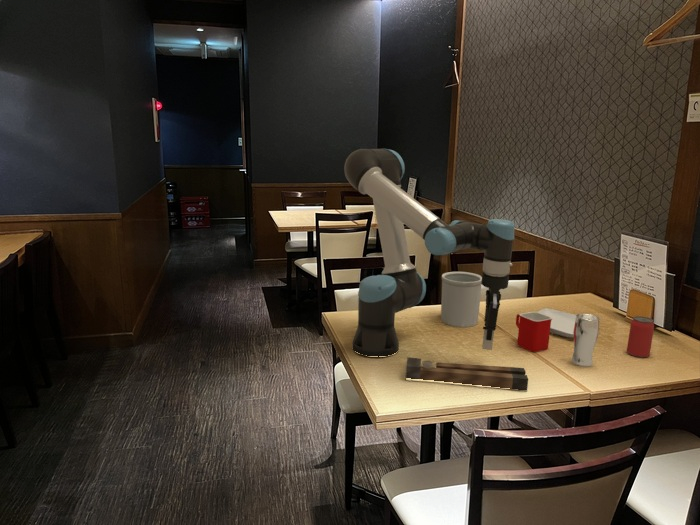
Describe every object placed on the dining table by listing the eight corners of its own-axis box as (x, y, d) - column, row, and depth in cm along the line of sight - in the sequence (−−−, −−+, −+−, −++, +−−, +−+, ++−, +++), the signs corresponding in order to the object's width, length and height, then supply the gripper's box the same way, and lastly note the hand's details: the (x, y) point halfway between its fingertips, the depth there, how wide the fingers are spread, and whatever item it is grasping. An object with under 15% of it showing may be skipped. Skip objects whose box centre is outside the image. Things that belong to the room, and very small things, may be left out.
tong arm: (436, 377, 147) (436, 365, 146) (435, 373, 149) (436, 362, 149) (524, 383, 144) (525, 371, 143) (522, 379, 147) (523, 367, 146)
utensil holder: (471, 330, 184) (475, 283, 180) (433, 322, 192) (435, 277, 188) (484, 319, 197) (488, 275, 193) (447, 312, 204) (450, 269, 200)
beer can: (637, 359, 162) (643, 323, 160) (621, 351, 169) (626, 316, 166) (654, 357, 164) (660, 321, 161) (638, 349, 170) (643, 314, 168)
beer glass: (587, 358, 162) (593, 313, 159) (598, 367, 156) (604, 320, 152) (565, 358, 162) (571, 313, 159) (575, 367, 155) (581, 320, 152)
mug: (551, 348, 169) (554, 318, 167) (533, 353, 166) (536, 322, 163) (523, 336, 180) (526, 307, 177) (506, 340, 176) (508, 310, 174)
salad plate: (517, 326, 191) (517, 317, 190) (545, 314, 204) (546, 306, 204) (572, 343, 175) (574, 334, 174) (599, 329, 189) (601, 320, 188)
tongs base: (405, 380, 145) (406, 365, 144) (406, 371, 151) (407, 356, 150) (527, 391, 140) (528, 375, 139) (523, 381, 146) (525, 366, 145)
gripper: (512, 280, 142) (502, 359, 148) (506, 268, 154) (497, 341, 160) (484, 278, 143) (475, 356, 149) (480, 266, 156) (473, 339, 161)
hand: (487, 348), depth 155 cm, fingers closed
